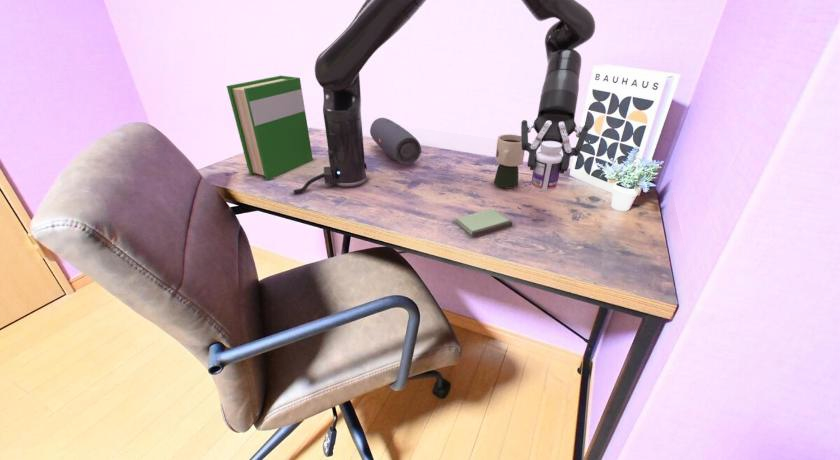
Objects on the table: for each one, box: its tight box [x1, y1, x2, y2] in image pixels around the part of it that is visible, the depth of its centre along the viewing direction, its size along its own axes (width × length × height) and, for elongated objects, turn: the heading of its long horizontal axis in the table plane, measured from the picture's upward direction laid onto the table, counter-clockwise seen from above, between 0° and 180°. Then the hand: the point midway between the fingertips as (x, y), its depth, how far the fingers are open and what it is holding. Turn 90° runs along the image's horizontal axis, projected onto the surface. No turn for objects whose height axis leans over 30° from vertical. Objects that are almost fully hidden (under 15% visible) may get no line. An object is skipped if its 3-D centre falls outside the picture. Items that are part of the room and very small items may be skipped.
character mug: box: [493, 133, 526, 189], centre depth 96 cm, size 11×7×13 cm, turn 152°
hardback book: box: [226, 75, 314, 181], centre depth 104 cm, size 18×7×24 cm, turn 150°
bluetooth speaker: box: [369, 117, 422, 166], centre depth 115 cm, size 23×9×10 cm, turn 25°
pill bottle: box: [530, 141, 563, 193], centre depth 78 cm, size 5×5×10 cm
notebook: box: [455, 208, 513, 238], centre depth 82 cm, size 10×7×1 cm
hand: (547, 170), depth 77 cm, fingers closed on pill bottle, 5 cm apart
